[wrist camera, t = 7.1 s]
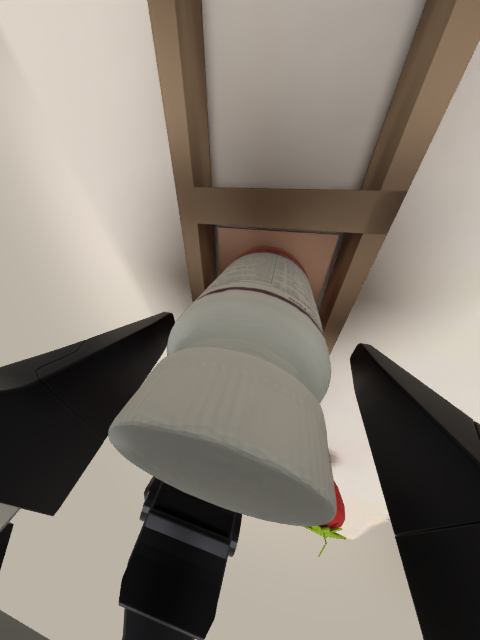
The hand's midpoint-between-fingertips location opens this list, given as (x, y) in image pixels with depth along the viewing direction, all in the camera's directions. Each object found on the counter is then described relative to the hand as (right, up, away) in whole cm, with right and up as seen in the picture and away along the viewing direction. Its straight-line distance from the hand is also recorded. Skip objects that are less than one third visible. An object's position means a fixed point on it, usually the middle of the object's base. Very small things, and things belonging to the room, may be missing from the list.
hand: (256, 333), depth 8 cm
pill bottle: (+1, +3, +5) cm, 6 cm away
